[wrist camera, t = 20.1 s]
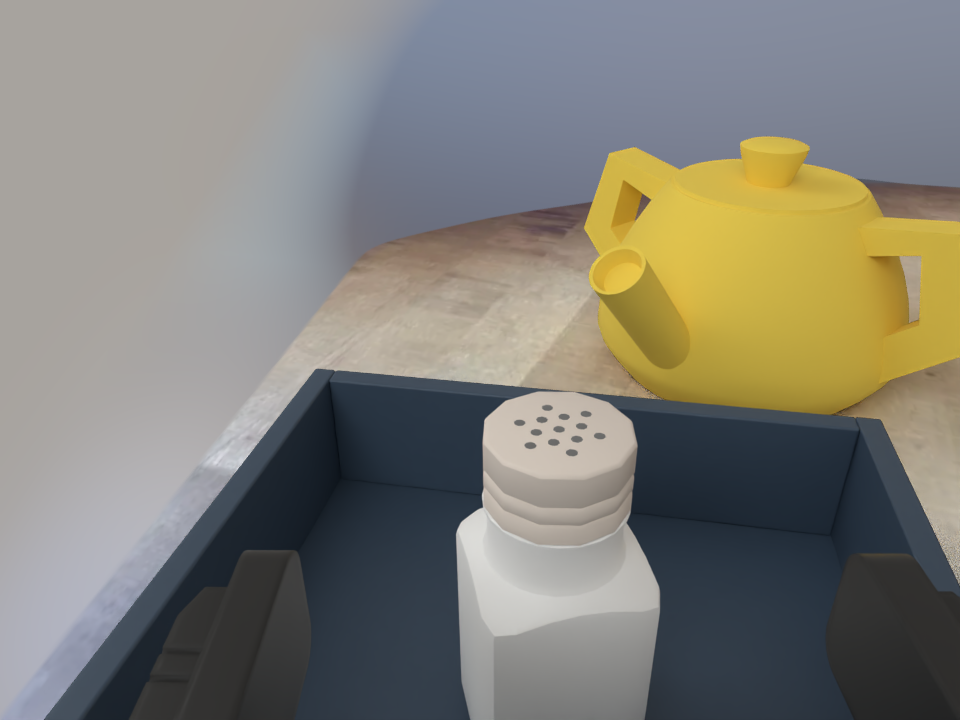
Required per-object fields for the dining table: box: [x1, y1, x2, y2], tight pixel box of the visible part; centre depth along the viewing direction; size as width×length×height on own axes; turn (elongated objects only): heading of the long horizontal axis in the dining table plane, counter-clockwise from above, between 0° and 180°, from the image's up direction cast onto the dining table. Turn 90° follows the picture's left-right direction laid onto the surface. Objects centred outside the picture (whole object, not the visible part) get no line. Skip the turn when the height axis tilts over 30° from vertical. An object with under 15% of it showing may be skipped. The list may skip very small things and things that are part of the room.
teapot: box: [584, 137, 960, 415], centre depth 35 cm, size 20×18×11 cm
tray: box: [44, 369, 960, 720], centre depth 19 cm, size 20×20×5 cm
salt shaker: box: [456, 392, 660, 720], centre depth 18 cm, size 4×4×10 cm
